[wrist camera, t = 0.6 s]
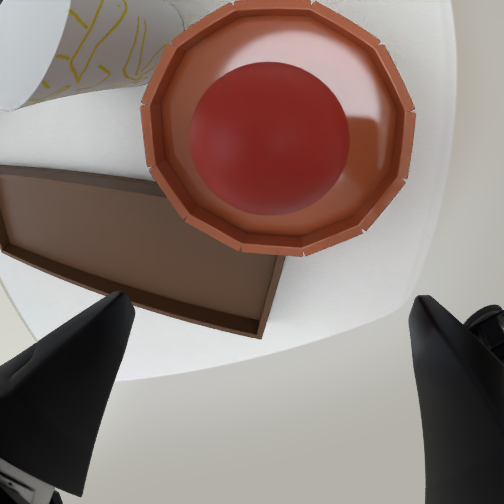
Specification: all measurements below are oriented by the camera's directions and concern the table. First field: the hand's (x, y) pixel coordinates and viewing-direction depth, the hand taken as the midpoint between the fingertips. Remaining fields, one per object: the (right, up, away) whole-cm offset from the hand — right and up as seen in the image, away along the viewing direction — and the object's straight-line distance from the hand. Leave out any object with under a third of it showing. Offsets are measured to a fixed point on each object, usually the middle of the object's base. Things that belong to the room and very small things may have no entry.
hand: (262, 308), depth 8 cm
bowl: (+2, +11, +10) cm, 15 cm away
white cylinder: (-9, +18, +8) cm, 22 cm away
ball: (+1, +8, +5) cm, 9 cm away
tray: (-17, +4, +18) cm, 26 cm away
